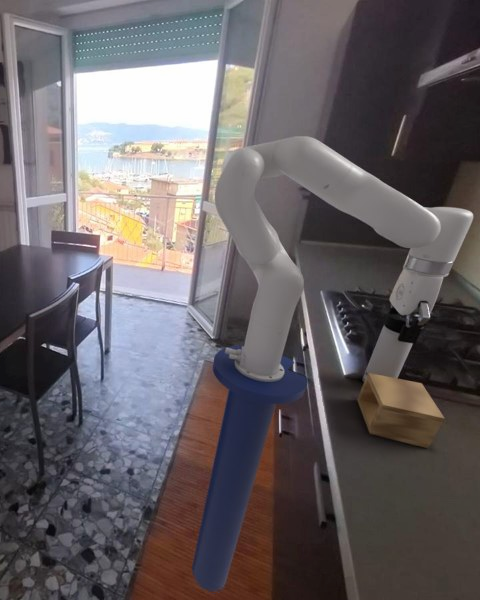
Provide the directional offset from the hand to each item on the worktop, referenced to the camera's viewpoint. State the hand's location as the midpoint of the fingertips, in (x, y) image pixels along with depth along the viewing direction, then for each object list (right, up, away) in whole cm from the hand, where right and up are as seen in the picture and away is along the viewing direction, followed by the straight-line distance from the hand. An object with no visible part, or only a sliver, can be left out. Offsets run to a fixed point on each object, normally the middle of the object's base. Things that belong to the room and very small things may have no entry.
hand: (399, 332), depth 86 cm
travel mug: (0, -15, +7) cm, 16 cm away
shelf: (-7, -20, -5) cm, 22 cm away
